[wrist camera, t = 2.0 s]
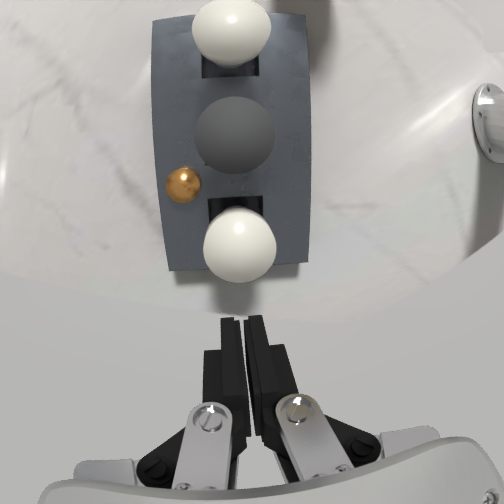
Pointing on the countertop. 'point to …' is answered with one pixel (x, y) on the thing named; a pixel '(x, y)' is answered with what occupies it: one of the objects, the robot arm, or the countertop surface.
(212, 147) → the knob middle
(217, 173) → the panel
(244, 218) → the knob
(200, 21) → the knob
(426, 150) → the countertop surface
